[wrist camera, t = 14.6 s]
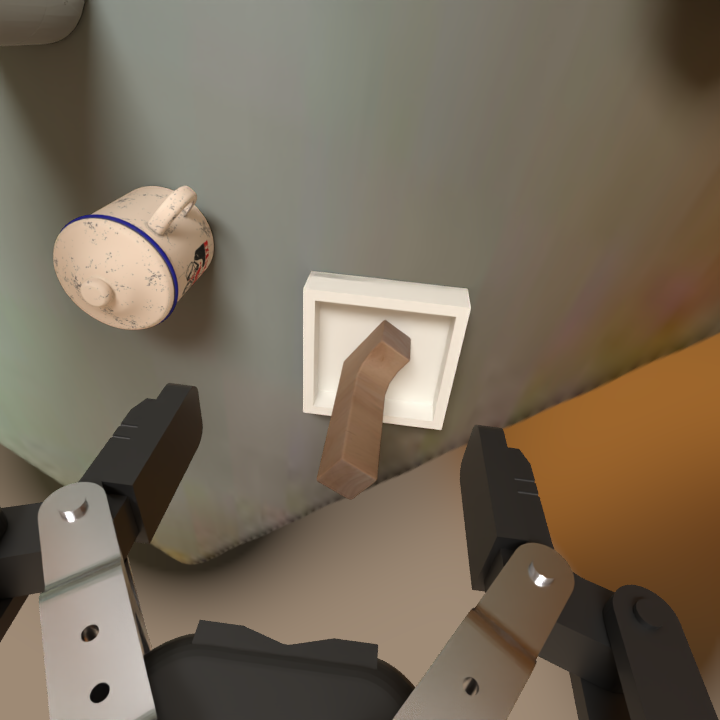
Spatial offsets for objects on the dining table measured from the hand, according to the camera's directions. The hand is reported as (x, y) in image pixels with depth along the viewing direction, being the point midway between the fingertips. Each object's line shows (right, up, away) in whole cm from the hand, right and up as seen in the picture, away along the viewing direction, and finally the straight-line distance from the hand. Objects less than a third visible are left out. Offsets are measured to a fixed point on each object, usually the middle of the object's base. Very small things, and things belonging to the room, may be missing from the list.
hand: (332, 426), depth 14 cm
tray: (+3, +3, +32) cm, 32 cm away
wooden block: (+2, +3, +31) cm, 32 cm away
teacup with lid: (-15, +14, +27) cm, 34 cm away
